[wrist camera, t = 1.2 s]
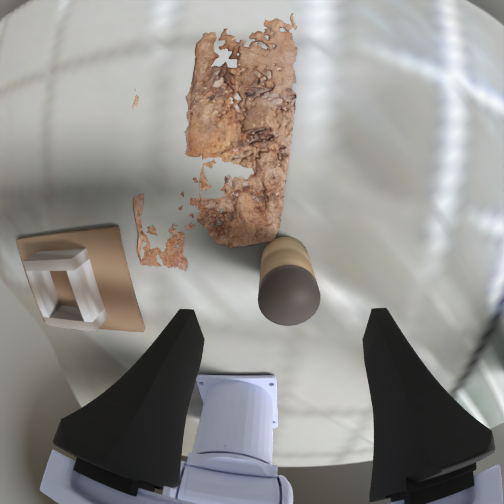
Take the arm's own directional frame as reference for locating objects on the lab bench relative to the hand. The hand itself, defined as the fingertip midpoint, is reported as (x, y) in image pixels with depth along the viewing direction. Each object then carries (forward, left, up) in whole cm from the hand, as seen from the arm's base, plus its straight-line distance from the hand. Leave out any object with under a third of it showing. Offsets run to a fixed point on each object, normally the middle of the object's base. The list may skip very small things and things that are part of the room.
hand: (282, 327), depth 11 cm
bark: (+8, +5, -11) cm, 15 cm away
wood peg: (-1, 0, -10) cm, 10 cm away
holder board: (-3, +20, -10) cm, 22 cm away
